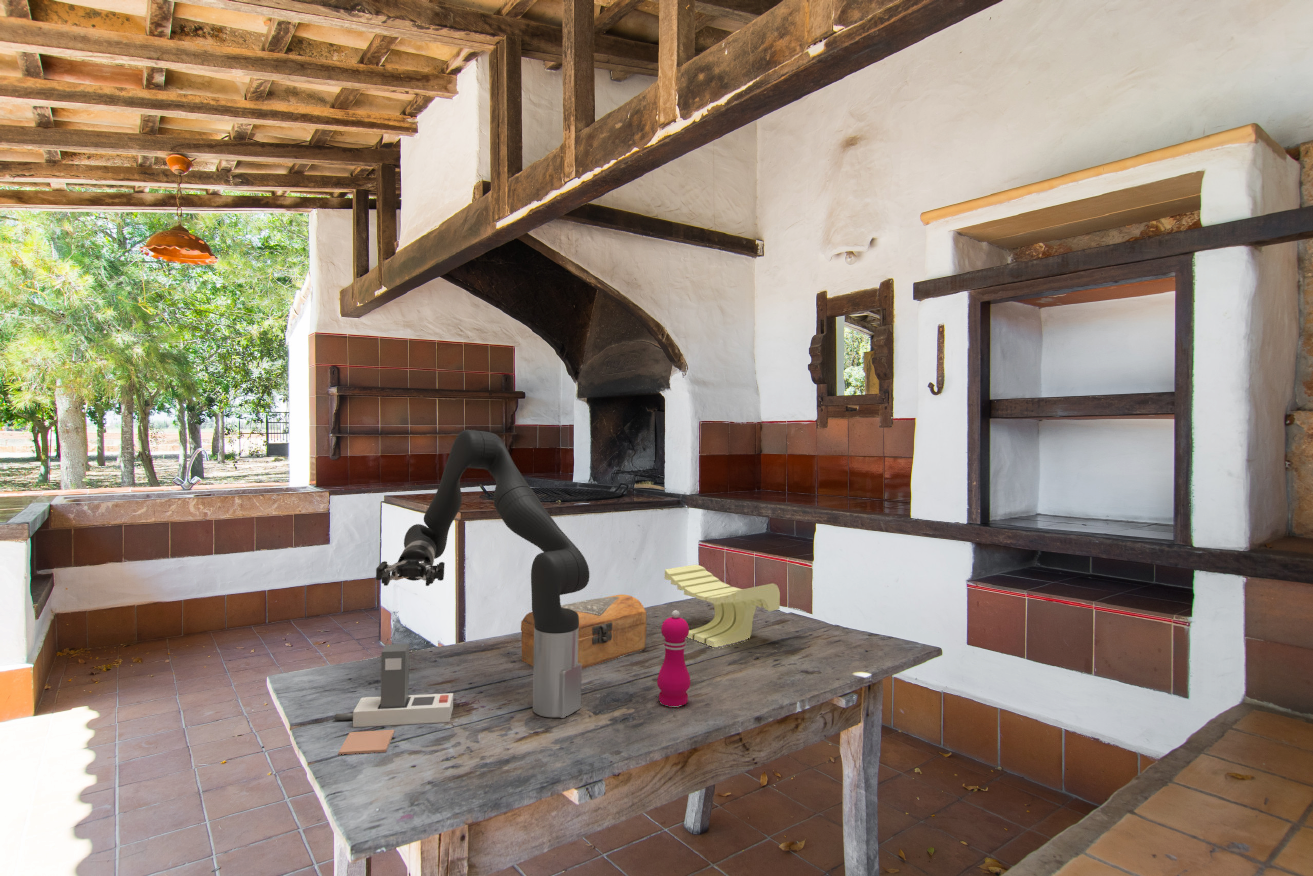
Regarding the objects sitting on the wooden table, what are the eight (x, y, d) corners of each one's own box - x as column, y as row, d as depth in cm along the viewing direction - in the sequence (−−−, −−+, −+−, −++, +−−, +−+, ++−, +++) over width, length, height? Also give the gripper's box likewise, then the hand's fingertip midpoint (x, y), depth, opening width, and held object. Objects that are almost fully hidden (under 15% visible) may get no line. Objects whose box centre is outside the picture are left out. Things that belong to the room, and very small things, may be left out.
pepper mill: (666, 711, 144) (668, 616, 144) (650, 698, 150) (653, 608, 150) (696, 705, 147) (698, 613, 147) (679, 693, 154) (681, 604, 153)
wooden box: (557, 679, 161) (558, 620, 161) (518, 661, 173) (520, 606, 172) (650, 652, 181) (651, 600, 181) (610, 637, 193) (611, 588, 193)
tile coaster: (394, 732, 131) (394, 729, 131) (386, 752, 123) (386, 749, 123) (349, 734, 130) (349, 732, 130) (338, 755, 122) (338, 752, 122)
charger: (408, 702, 140) (409, 643, 140) (404, 711, 136) (405, 651, 136) (385, 703, 139) (386, 644, 139) (380, 712, 135) (381, 652, 135)
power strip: (453, 707, 143) (453, 690, 143) (449, 722, 136) (449, 704, 136) (340, 713, 139) (340, 695, 139) (330, 728, 132) (331, 709, 132)
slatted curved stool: (778, 646, 189) (780, 581, 189) (739, 657, 178) (740, 589, 178) (702, 620, 212) (703, 563, 211) (663, 629, 201) (664, 569, 201)
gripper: (385, 543, 161) (372, 564, 145) (448, 544, 164) (442, 564, 148) (384, 574, 162) (370, 598, 146) (447, 575, 165) (440, 598, 149)
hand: (406, 581), depth 147 cm, fingers open, 8 cm apart
